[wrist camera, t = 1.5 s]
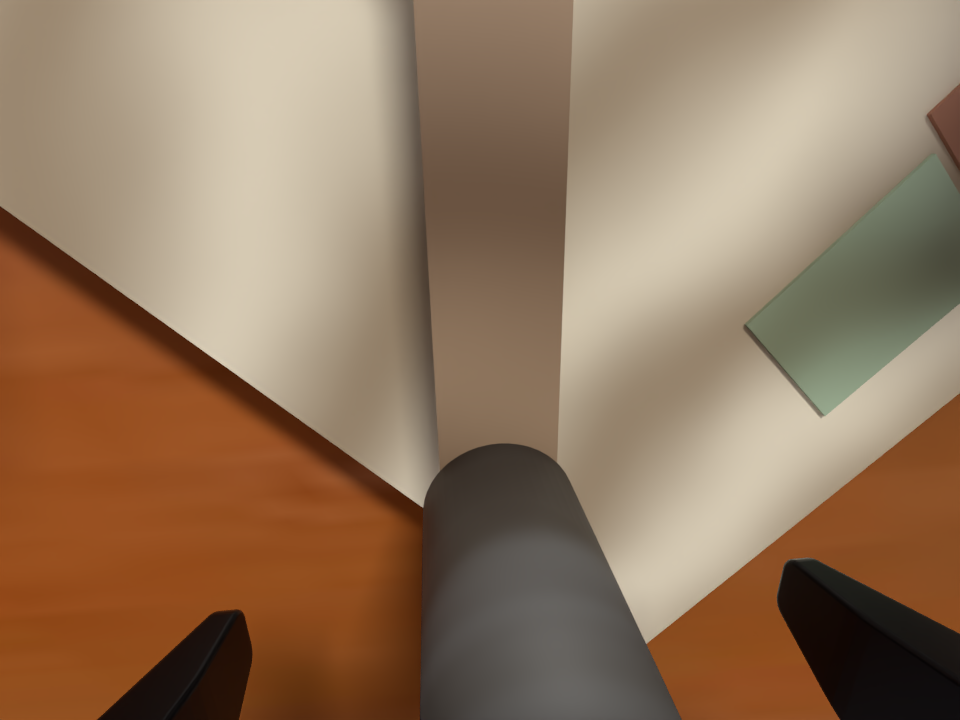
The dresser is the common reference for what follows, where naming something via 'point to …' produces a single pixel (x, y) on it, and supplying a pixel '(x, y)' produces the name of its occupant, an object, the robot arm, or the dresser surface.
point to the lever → (508, 390)
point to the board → (588, 237)
